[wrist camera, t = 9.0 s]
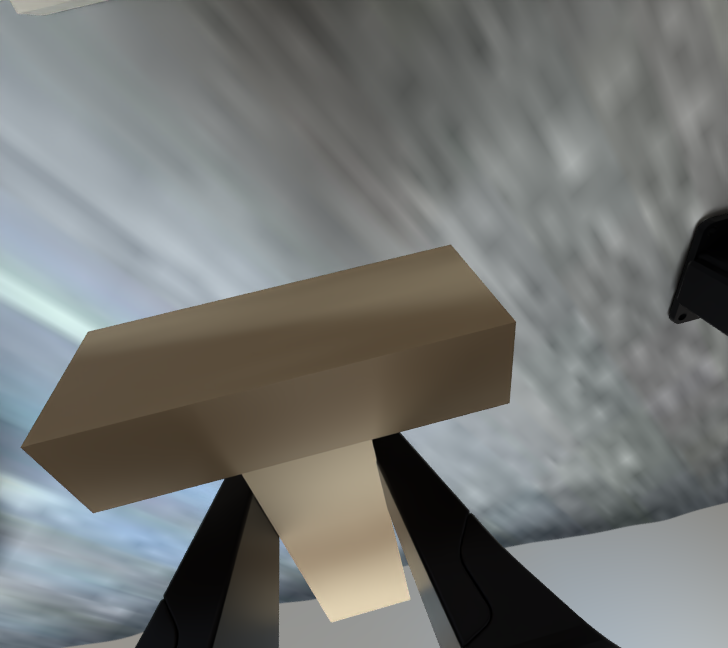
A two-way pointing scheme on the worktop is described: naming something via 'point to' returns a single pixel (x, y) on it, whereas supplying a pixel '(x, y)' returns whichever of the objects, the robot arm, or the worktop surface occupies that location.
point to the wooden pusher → (285, 406)
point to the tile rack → (48, 6)
